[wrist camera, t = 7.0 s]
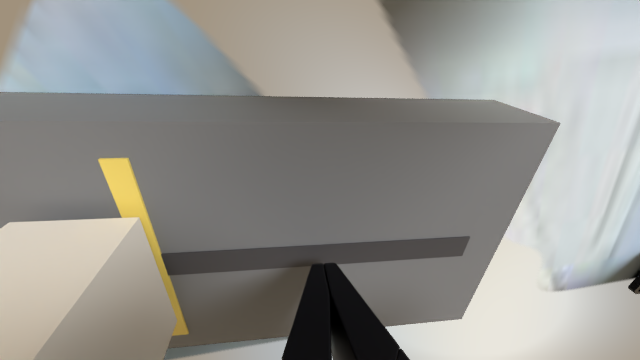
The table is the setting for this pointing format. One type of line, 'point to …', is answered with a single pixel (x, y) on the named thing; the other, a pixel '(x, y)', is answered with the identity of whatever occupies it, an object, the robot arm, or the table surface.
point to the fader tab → (81, 292)
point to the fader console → (280, 194)
